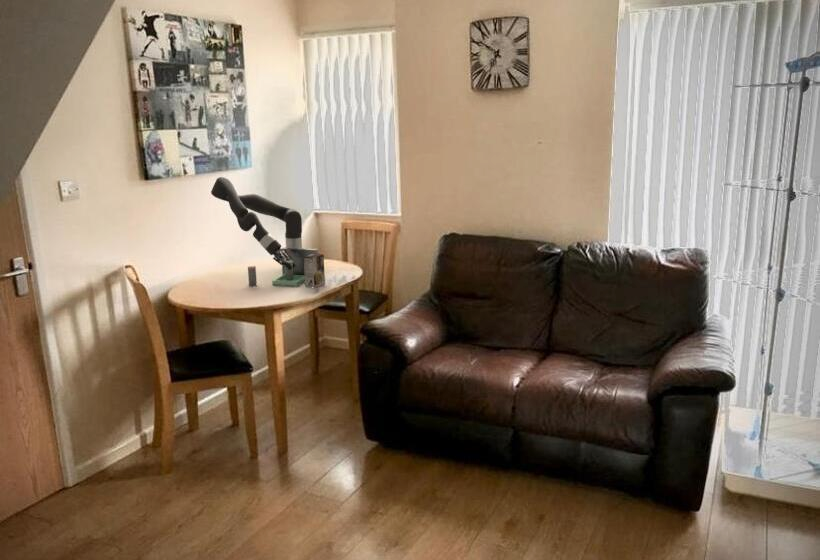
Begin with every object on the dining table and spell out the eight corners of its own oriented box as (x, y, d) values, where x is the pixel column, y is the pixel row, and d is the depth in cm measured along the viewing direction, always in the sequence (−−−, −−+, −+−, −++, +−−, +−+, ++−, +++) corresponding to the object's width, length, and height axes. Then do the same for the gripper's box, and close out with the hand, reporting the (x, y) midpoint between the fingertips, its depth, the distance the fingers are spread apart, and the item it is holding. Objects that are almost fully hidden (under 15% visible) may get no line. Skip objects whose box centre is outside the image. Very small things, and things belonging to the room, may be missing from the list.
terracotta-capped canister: (251, 284, 352) (249, 265, 350) (258, 284, 351) (256, 265, 349) (247, 285, 349) (246, 267, 346) (254, 286, 348) (253, 267, 345)
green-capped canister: (287, 278, 356) (286, 260, 354) (294, 279, 356) (293, 260, 353) (284, 280, 353) (283, 261, 350) (291, 280, 352) (290, 262, 349)
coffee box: (315, 282, 354) (314, 252, 350) (325, 284, 351) (324, 254, 347) (304, 286, 347) (303, 256, 343) (314, 288, 344) (313, 257, 340)
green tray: (283, 278, 362) (283, 274, 362) (307, 280, 359) (306, 275, 359) (272, 285, 350) (272, 280, 349) (296, 286, 346) (296, 282, 346)
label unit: (286, 274, 372) (285, 246, 368) (320, 276, 367) (319, 247, 363) (280, 278, 364) (279, 249, 360) (315, 280, 359) (313, 250, 355)
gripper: (271, 246, 360) (293, 269, 360) (259, 251, 346) (282, 275, 347) (280, 237, 357) (302, 260, 357) (268, 242, 344) (291, 266, 344)
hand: (292, 267), depth 352 cm, fingers closed on green-capped canister, 4 cm apart
